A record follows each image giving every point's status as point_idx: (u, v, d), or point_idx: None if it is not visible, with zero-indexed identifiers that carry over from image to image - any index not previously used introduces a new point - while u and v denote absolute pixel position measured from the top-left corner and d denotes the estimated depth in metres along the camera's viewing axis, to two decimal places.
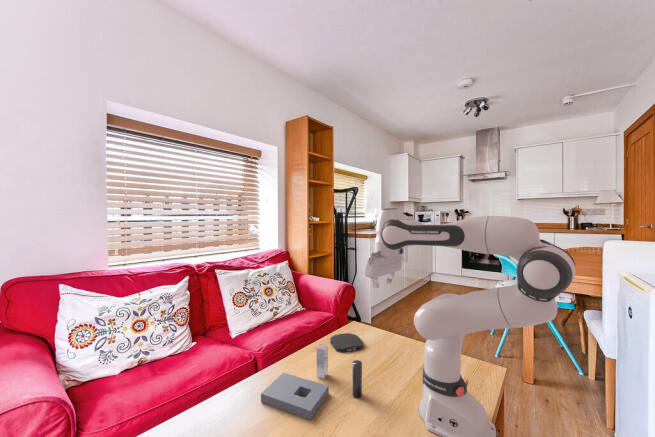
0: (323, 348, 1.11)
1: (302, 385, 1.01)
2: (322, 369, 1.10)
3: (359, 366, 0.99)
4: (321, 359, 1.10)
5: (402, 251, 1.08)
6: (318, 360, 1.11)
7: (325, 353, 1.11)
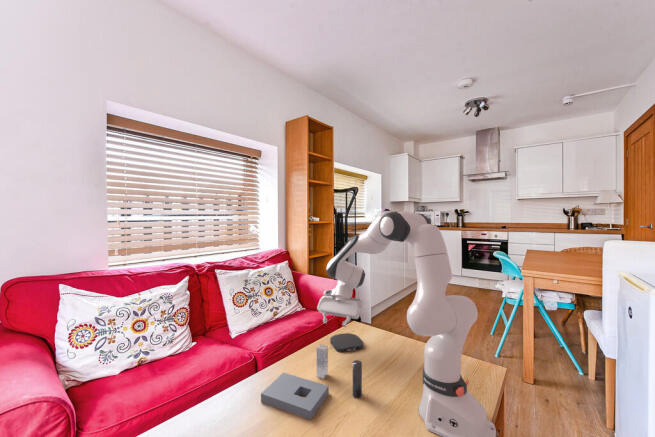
0: (323, 348, 1.11)
1: (302, 385, 1.01)
2: (322, 369, 1.10)
3: (359, 366, 0.99)
4: (321, 359, 1.10)
5: None
6: (318, 360, 1.11)
7: (325, 353, 1.11)
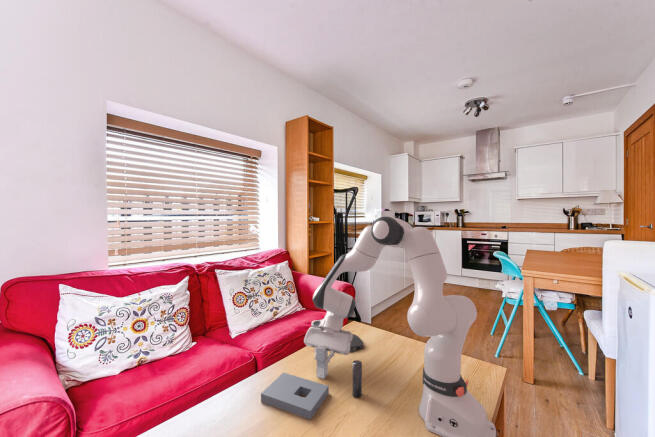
0: (323, 348, 1.11)
1: (302, 385, 1.01)
2: (322, 369, 1.10)
3: (359, 366, 0.99)
4: (321, 359, 1.10)
5: None
6: (318, 360, 1.11)
7: (325, 353, 1.11)
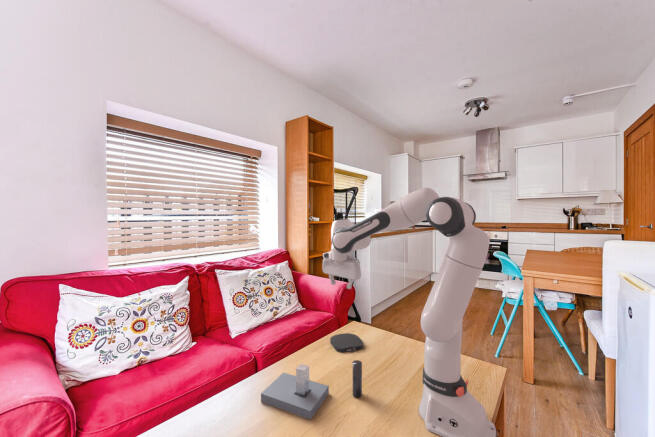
0: (303, 369, 0.96)
1: None
2: (302, 392, 0.96)
3: (359, 366, 0.99)
4: (301, 382, 0.96)
5: None
6: (298, 382, 0.97)
7: (306, 374, 0.97)
